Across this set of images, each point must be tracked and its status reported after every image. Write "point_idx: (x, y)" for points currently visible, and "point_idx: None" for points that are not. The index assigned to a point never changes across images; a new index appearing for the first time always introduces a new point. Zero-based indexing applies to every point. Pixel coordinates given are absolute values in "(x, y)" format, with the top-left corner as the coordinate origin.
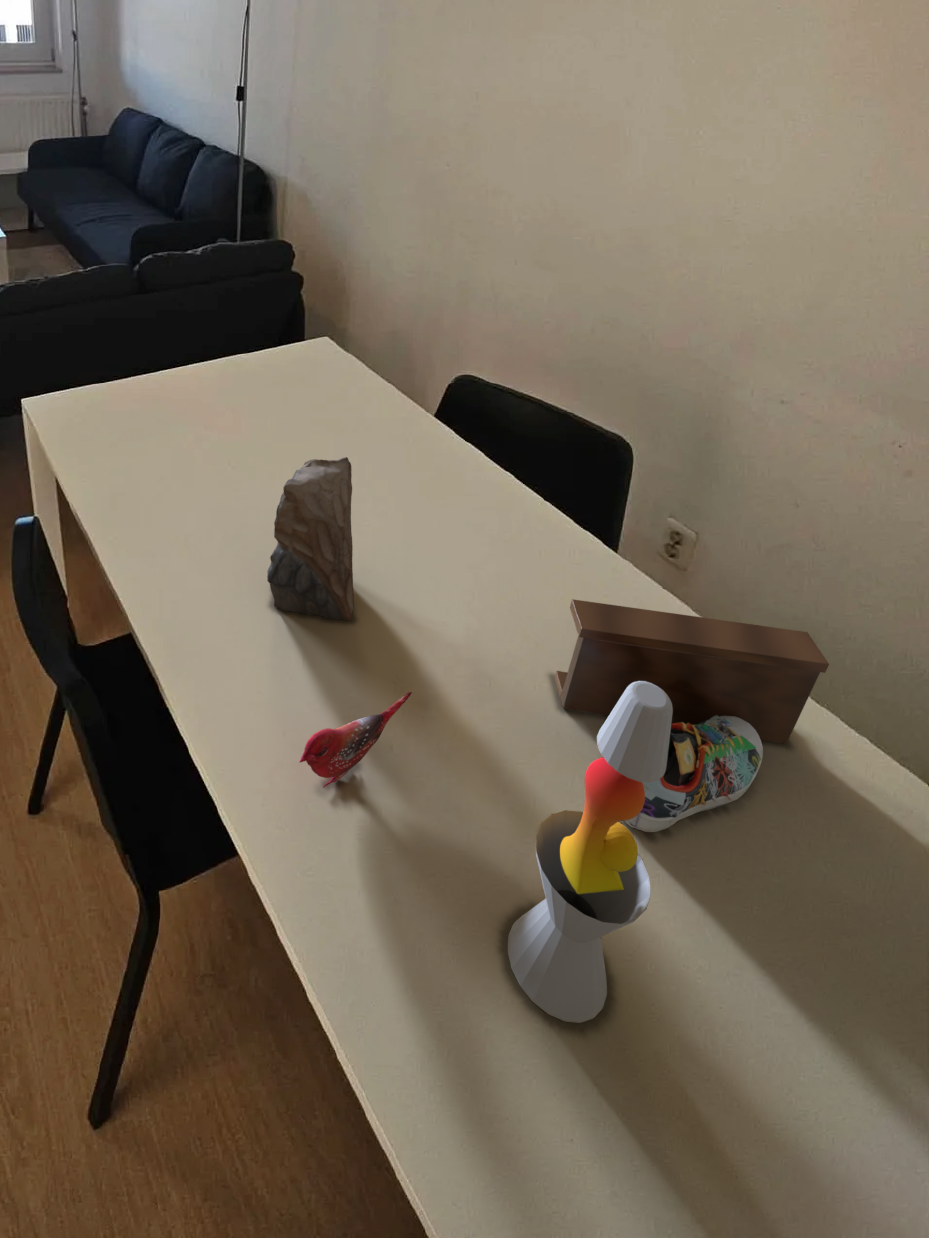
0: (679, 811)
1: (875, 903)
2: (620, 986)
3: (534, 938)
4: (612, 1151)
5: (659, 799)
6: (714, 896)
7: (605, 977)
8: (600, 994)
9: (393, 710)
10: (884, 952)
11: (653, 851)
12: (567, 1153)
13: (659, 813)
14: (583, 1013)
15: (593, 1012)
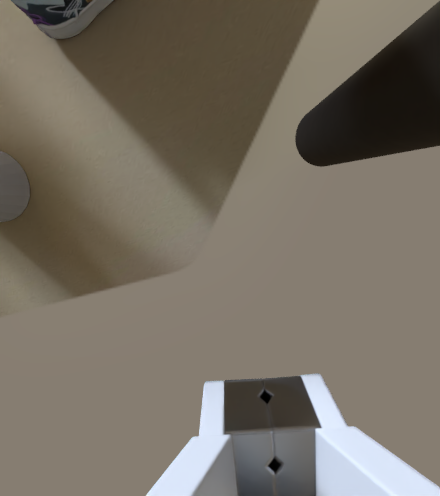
0: (75, 9)
1: (264, 50)
2: (39, 188)
3: None
4: (32, 280)
5: (35, 5)
6: (121, 89)
7: (19, 191)
8: (13, 206)
9: None
10: (250, 98)
11: (74, 58)
12: (7, 287)
13: (52, 20)
14: (7, 217)
15: (16, 213)
